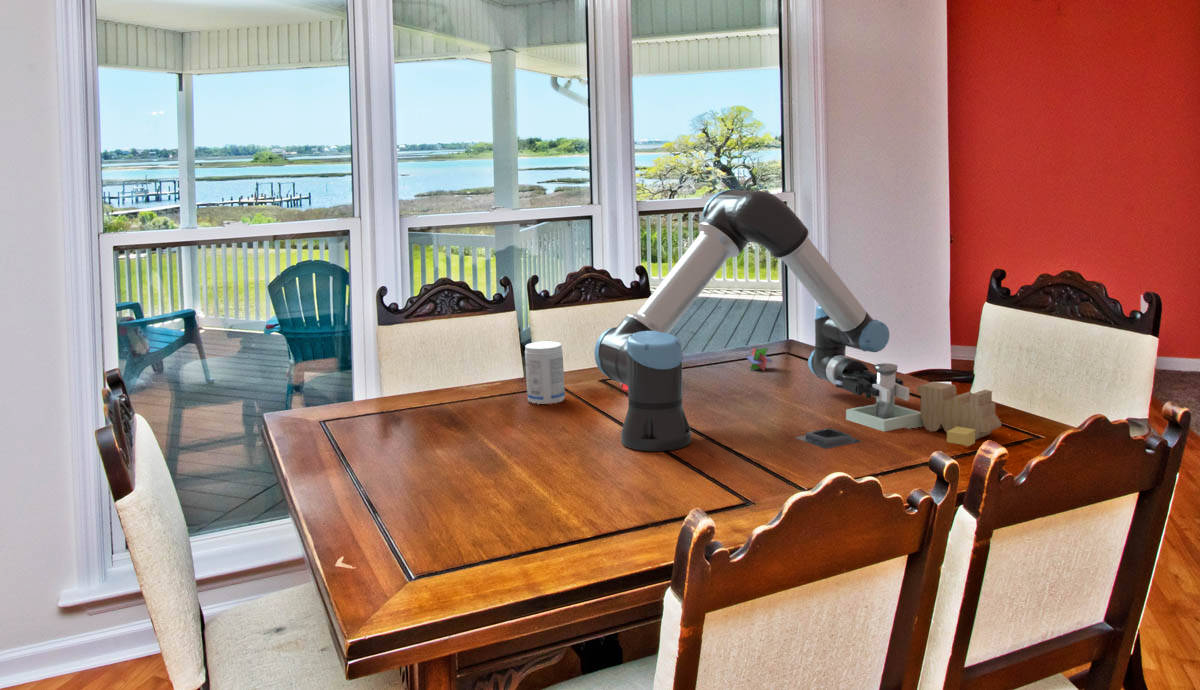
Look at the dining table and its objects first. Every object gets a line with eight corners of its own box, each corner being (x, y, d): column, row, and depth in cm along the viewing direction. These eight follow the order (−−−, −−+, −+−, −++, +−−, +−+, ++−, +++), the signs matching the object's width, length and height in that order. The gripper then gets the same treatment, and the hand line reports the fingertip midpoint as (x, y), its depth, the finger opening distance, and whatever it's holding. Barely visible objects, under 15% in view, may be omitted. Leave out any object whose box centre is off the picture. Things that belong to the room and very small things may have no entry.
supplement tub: (561, 395, 264) (559, 339, 261) (568, 403, 255) (566, 346, 252) (524, 398, 262) (522, 342, 259) (530, 406, 253) (527, 349, 250)
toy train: (987, 443, 212) (989, 397, 211) (915, 428, 225) (916, 384, 223) (1000, 438, 216) (1003, 392, 214) (929, 423, 229) (930, 380, 227)
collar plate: (825, 452, 209) (825, 443, 209) (794, 441, 218) (794, 432, 217) (862, 444, 214) (862, 435, 213) (830, 433, 222) (830, 425, 222)
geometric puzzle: (780, 364, 284) (769, 339, 287) (761, 367, 281) (750, 342, 284) (767, 375, 290) (756, 351, 293) (748, 378, 287) (737, 354, 290)
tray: (884, 434, 220) (884, 421, 220) (846, 422, 231) (846, 409, 230) (924, 426, 226) (924, 413, 225) (885, 415, 236) (885, 402, 236)
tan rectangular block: (965, 448, 209) (966, 434, 208) (946, 445, 212) (947, 431, 211) (974, 443, 213) (975, 429, 212) (956, 440, 215) (956, 426, 215)
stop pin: (884, 421, 225) (886, 368, 223) (869, 417, 229) (870, 365, 227) (900, 418, 227) (902, 366, 225) (885, 413, 231) (886, 362, 229)
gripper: (879, 386, 247) (932, 408, 224) (815, 391, 243) (862, 415, 221) (880, 355, 245) (933, 375, 223) (815, 361, 241) (862, 381, 219)
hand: (897, 395), depth 222 cm, fingers closed on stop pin, 4 cm apart
